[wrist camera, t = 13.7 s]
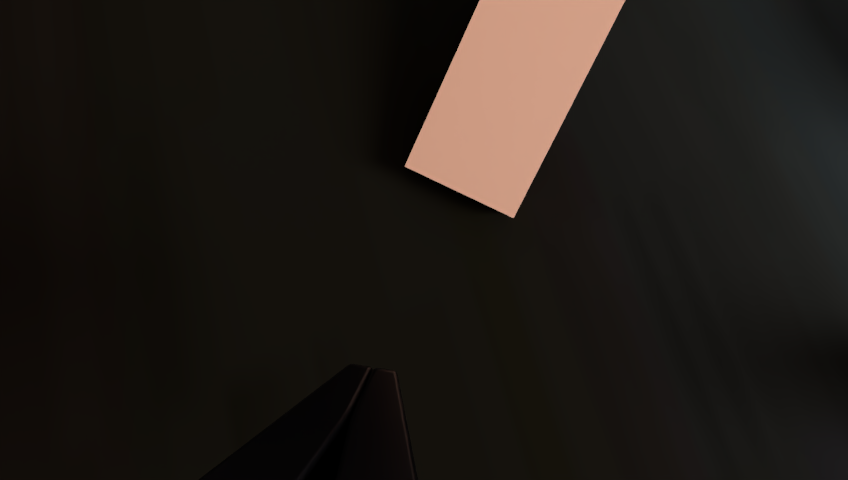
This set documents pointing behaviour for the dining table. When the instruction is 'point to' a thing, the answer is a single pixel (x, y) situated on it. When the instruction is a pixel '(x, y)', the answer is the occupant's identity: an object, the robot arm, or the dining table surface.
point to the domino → (509, 95)
